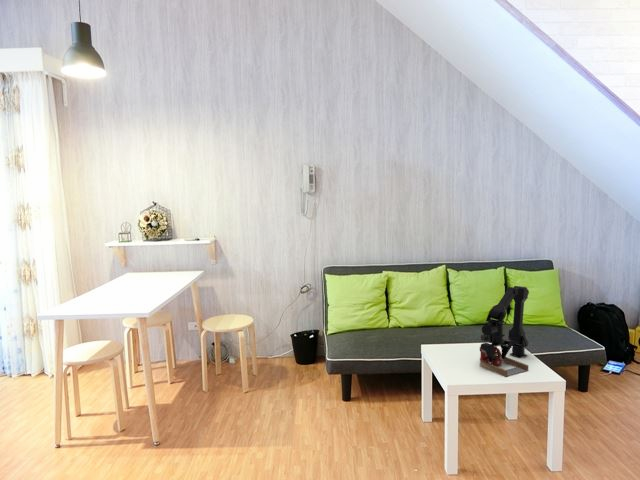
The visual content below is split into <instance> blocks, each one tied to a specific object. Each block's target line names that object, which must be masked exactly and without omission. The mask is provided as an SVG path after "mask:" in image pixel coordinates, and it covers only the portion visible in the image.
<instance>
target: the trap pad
mask: <svg viewBox="0 0 640 480" xmlns="http://www.w3.org/2000/svg"><path fill="white" fill-rule="evenodd" d="M506 370H507V377H511V376H515V375H519V374H521V373H522V374H523V373H526V372H527V371H526V370H523V369H521V368H518V367H511V368H509V369H506Z"/></svg>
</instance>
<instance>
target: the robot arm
mask: <svg viewBox="0 0 640 480" xmlns="http://www.w3.org/2000/svg"><path fill="white" fill-rule="evenodd" d="M529 294H530V292H529V289H528V287H525V286H520V285H519V286H518V285H514V286H507V288H506V292H504V294H503V296H502V297H501V299H500V300H499V302H498V303H497V304H495V305H493V306H492V307H491V308H490V310H489V311H488V314H487V317H486V319H485V323H484V325H482V327H481V332H482V334H481V335H480V340H481V341H482V342H483V343H481V344H480V347H481V349H483V350H484V351H486V353H487V355H488V358H489V360H490V362H492V360H493V356H494V351H493V350H494V347H497V348H498V347H500V348H501V354H502V359H504V358H505V357H507V355H508V353H509V351H510V350H511V353H509V355H510V356H513V357H516V358H518V359H519V358H523V357H527V356H528V354H527V353H526V350H525V349H526V348H527V347H528V346H529V340H528V339H527V338H526V332H525V330H524V328H523V325H524V324H523V323H524V322H523V321H524V311H525V310H524V309H525V302H526V301H527V299H528V297H529ZM513 301H514V307H513V320H512V321H513V322H512V327H511V329H509V330H508V335H507V336H508V337H507V338H506V337H505V334H504V323H505V322H506V321H505V318H506V316H507V310H508V307H509V306H510V304H511V303H512V302H513ZM504 337H505V338H504ZM525 353H526V354H525Z"/></svg>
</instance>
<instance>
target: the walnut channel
mask: <svg viewBox="0 0 640 480" xmlns="http://www.w3.org/2000/svg"><path fill="white" fill-rule="evenodd" d="M479 362H480V364H479V365H480V368H484V369H486V370H488V371H490V372H492V373H495V374H498V375H500V376H502V377H504V378H507V377H508V376H507V369H504V368H502V367H500V366H496V365H495V364H489V363H487V362H484V361H480V360H479ZM502 363H505V364H507V365H510V366H512V367H513V368H515V367H518V368H521V369H523V370H526V372H529V365H528V364H525V363H524V362H521V361H518V360H515V359H513V358H510V357H507V356H506V357H505V358H504V359H502Z"/></svg>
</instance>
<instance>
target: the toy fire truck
mask: <svg viewBox="0 0 640 480" xmlns="http://www.w3.org/2000/svg"><path fill="white" fill-rule="evenodd" d="M493 351H494V356H493V360H492V362H490V360H489V358H488V355H487V353H486V351H484V350H483V349H481V346H479V352H480V357H479V362H480V361H484V362H487V363H489V364H492V365H494V366H497V367H500V366H501V365H502V363H503V362H502V351H501V350H500V349H499V348H498V347H494V350H493Z"/></svg>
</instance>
